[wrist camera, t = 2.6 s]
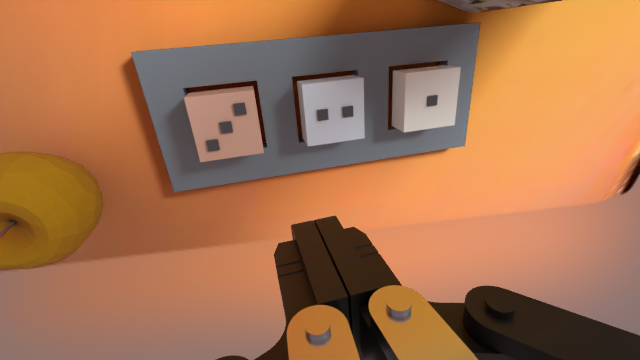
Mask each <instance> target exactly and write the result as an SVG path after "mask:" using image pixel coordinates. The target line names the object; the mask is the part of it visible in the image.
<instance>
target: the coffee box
mask: <svg viewBox="0 0 640 360" xmlns="http://www.w3.org/2000/svg"><path fill="white" fill-rule="evenodd" d="M438 1H440V2H442V3H445V4H448V5H450V6H453V7H455V8H458V9H460V10H463V11H466V12H469V13H478V12H484V11H490V10H498V9H505V8H512V7H520V6H526V5H534V4H541V3H548V2H555V1H561V0H438Z"/></svg>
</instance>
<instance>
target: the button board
mask: <svg viewBox="0 0 640 360" xmlns="http://www.w3.org/2000/svg"><path fill="white" fill-rule="evenodd" d="M479 29H480V23H469V24H457V25H445V26H433V27H421V28H409V29H398V30H386V31H374V32H362V33H350V34H338V35H326V36H314V37H303V38H291V39H279V40H267V41H255V42H243V43H231V44H220V45H208V46H196V47H184V48H172V49H160V50H148V51H137V52H131V54H132V57H133V60H134V64H135V67H136V70H137V73H138V77H139V80H140V83H141V86H142V90H143V93H144V96H145V99H146V103H147V106H148V109H149V112H150V116H151V119H152V122H153V125H154V129H155V132H156V135H157V138H158V142H159V145H160V148H161V151H162V155H163V158H164V161H165V164H166V168H167V171H168V174H169V177H170V181H171V184H172V187H173V190H174V192H180V191H187V190H193V189H199V188H205V187H212V186H218V185H224V184H230V183H236V182H243V181H249V180H255V179H261V178H268V177H274V176H280V175H286V174H293V173H299V172H305V171H311V170H318V169H324V168H330V167H336V166H343V165H349V164H355V163H361V162H368V161H374V160H380V159H386V158H393V157H399V156H405V155H411V154H418V153H424V152H430V151H436V150H443V149H449V148H455V147H461V146H465V141H466V133H467V125H468V117H469V109H470V101H471V93H472V85H473V77H474V69H475V61H476V53H477V45H478V37H479ZM436 61H438V66H440V65H447V66H456V67H461V71H460V80H459V89H458V98H457V108H456V117H455V125H452V126H445V127H438V128H431V129H424V130H418V131H411V132H402V131H400V130H398V129H397V128H395V127H393V126H392V125H388V89H389V66H398V65H408V64H417V63H426V62H436ZM351 70H352V75H356V76H359V77H363V78H364V130H365V138H363V139H356V140H349V141H342V142H335V143H329V144H322V145H315V146H307V144H306V143H305V141H304V140H303V137H302V138H298V129H297V120H296V111H295V102H294V93H293V84H292V77H294V76H304V75H313V74H322V73H332V72H341V71H351ZM247 81H257V88H258V94H259V100H260V107H261V113H262V120H263V126H264V133H265V139H266V143H263V150H264V153H260V154H253V155H247V156H240V157H233V158H226V159H219V160H212V161H206V162H200V159H199V155H198V151H197V147H196V143H195V139H194V136H193V132H192V128H191V124H190V120H189V116H188V112H187V108H186V104H185V100H184V97H185V96H186V95H187V94H188V92H187V88H190V87H200V86H209V85H218V84H228V83H237V82H247Z"/></svg>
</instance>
